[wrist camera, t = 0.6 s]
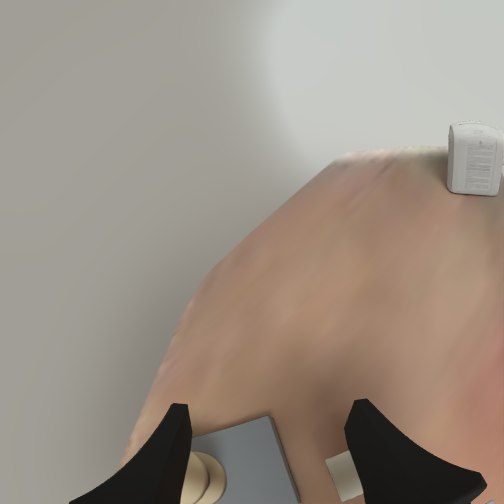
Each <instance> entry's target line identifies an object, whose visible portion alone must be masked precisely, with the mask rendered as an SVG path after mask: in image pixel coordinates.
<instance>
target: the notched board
mask: <svg viewBox="0 0 504 504" xmlns="http://www.w3.org/2000/svg"><path fill="white" fill-rule="evenodd" d="M140 449H141V448H139V450H140ZM191 451H193V452H201V453H205V454H208V455H210V456H212V457H214V458H215V459H216V460H218V461H219V462H220V464H221V465H222V466H223V468H224V470H225V472H226V476H227V487H226V490H225V493H224V495H223V496H222V497H221V499H220V500H219V501H217V502H216V503H214V504H299V503H301V500H300V497H299V494H298V492H297V489H296V486H295V483H294V480H293V478H292V475H291V472H290V469H289V466H288V463H287V461H286V458H285V455H284V452H283V449H282V446H281V443H280V440H279V437H278V434H277V431H276V428H275V425H274V422H273V419H272V418H271V417H270V416H268V415H267V416H264V417H261V418H259V419H256V420H253V421H250V422H247V423H243V424H240V425H237V426H234V427H230V428H227V429H224V430H220V431H217V432H213V433H209V434H205V435H202V436H198V437H193V438H192V443H191Z"/></svg>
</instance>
